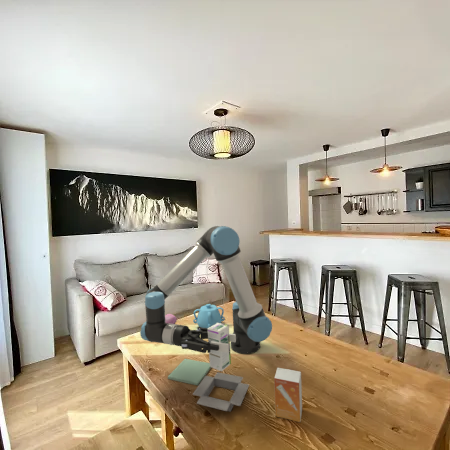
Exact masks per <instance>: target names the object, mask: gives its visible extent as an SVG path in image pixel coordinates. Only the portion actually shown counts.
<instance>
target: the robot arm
mask: <svg viewBox="0 0 450 450" xmlns="http://www.w3.org/2000/svg"><path fill="white" fill-rule="evenodd" d="M240 242H241V241H240V237H239V234H238V232H236V231H235V230H234V229H233V228H232V227H229V226H226V225H225V226H224V225H221V226H218V225H217V226H216V225H215V226H212V227H210V228H209V229H207V230H206V231H205V232H204V233H203V235H202V236H201V237H200V238H198V240H197V241H196V242H195V246H194V247H193V248H191V250H189V252H188V253H187V254H185V256H184V257H183V258H182V259H181V260H180V261H178V263H177V264H176V265H175V266H174V267H172V268H171V270H169V272H168V273H167V274H165V275H164V277H163V278H162V279H161V280H159V282H158V283H156V285H155V286H154V287H152V288H150V289H148V290H147V292H146V294H145V296H144V297H145V299H144V305H145V308H144V309H145V317H146V318H145V320H146V321H145V322H143V323H142V325H141V327H140V332H139V333H140V334H139V335H140V337H141V338H142V340H144V341H148V342H150V343H159V344H165V345H169V346H177V347H181V349H182V350H191V351H195V352H198V353H203V354H206V353H208V354H209V353H210V350H215V351H222V352H229V344H227V343H220V342H213V341H211V344H210V342H208V341H207V340H208V328H202V327H199V326H197V328H196V329H190V327H189V326H188V325H181V324H176V323H175V324H169V323H165V315H166V307H165V306H166V304H165V302H166V301H165V300H166V299H167V298H168V297H169V296H170V295H171V294H172V293H173V292H174V291H175V290H176V289H177V288H178V287H179V286H180V285H181V284H182V283H183V282H184V280H186V279H187V278H188V277H189V275H191V273H192V272H194V271H195V270H196V268H198V266H200V264H201V263H202V262H204V260H205V259H206V258H208V257H209V258H210V257H211V256H212V255H214V258H215V260H216V262H218V263H220V264H221V267H222V269H223V272H224V274H225V276H226V279H227V281H228V284H229V286H230V289H231V292H232V294H233V297H234V299H235V301H234V302H233V303H232V325H233V330H232V331H233V332H232V333H230V332H229V338H230V350H232V351H233V352H235V353H238V354H242V355H247V354H253V353H256V352H258V351H259V350H261V342H263V341H265V340H267V339H268V337H270V336H271V333H272V330H273V323H272V321H271V319H270V318H269V317H268V316H267V315H266V313H265V311H264V308H263V305H262V304H261V303H258V302H257V298H256V297H255V294H254V291H253V288H252V286H251V283H250V281H249V279H248V276H247V273H246V270H245V268H244V265H243V263H242V261H241V257H240V255H241V248H240V244H241V243H240Z"/></svg>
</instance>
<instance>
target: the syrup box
mask: <svg viewBox="0 0 450 450" xmlns="http://www.w3.org/2000/svg"><path fill="white" fill-rule="evenodd" d="M229 333H230V326H229V325H228V324H226V323H222V322H221V323H216V324H215V325H213V326H211V327H209V328H208V339H207V340H208V341H207V342H210V344H211V341H213V342H220V343H227V344H229V352H222V351H215V350H210V353H208V354H209V355H208V358H209V363H210V367H211V368H212V369H214V370H217V371H219V372H224V370H225V369H226V368H228V367H229V366H230V365H231V364H232V359H231V358H232V357H231V355H232V354H231V342H230V338H229Z"/></svg>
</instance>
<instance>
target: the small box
mask: <svg viewBox="0 0 450 450" xmlns="http://www.w3.org/2000/svg"><path fill="white" fill-rule="evenodd" d="M302 389H303V388H302V372H301V371H300V370H299V371H298V370H293V369H288V368H282V367H276V372H275V375H274V409H275V410H274V412H275V413H274V414H275V417H278V418H282V419H285V420H289V421H293V422H297V423H301V421H302V420H301V419H302V412H303V395H302V393H303V391H302Z"/></svg>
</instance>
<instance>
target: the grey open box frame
mask: <svg viewBox="0 0 450 450" xmlns="http://www.w3.org/2000/svg"><path fill="white" fill-rule="evenodd" d="M243 379H244V377H243V376H240V375H234V374H227V373H224V372H223V373H222V372H220V371H219V372H216V373H215V375H214V376H209V375H205V377H204V378H203V379H202V381H201V382H200V383H199V385H198V386H197V387H196V389H195V390H194V392H193V393H192V395H193V396H197V397H199V398H198V400H197V402H196V405H201V406H204V407H208V408H213V409H216V410H221V411H224V412H230V413H231V411H232V410H233V408H234V406H238V407H241V406H242V403H243V401H244V398H245V397H246V393H247V392H248V389H249V386H250V384H248V383H243V382H242V381H243ZM214 387H219V388H223V389H227V390H233V393H232V396H231V397H230V399H229V401H228V400H223V399H220V398H215V397H212V396H210V394H211V392H212V391H213V390H214Z"/></svg>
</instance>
